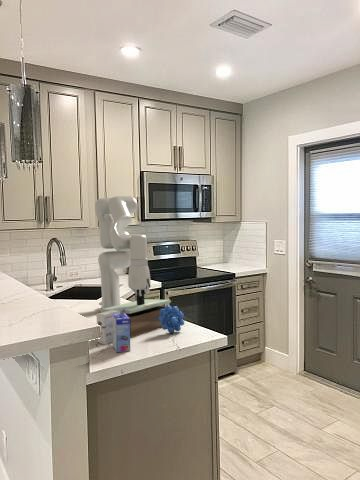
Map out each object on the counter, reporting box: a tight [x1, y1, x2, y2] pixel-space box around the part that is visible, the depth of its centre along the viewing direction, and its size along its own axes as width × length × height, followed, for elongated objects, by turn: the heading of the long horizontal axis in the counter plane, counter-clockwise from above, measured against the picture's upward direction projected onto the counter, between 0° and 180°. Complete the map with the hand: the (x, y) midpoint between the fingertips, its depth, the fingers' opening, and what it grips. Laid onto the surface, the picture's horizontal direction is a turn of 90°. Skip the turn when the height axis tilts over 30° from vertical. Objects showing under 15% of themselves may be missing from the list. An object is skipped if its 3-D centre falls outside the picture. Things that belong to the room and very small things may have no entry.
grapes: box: [158, 304, 185, 334], centre depth 164 cm, size 12×7×12 cm, turn 113°
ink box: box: [95, 310, 120, 345], centre depth 156 cm, size 9×5×12 cm, turn 141°
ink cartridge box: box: [112, 309, 131, 353], centre depth 147 cm, size 10×6×14 cm, turn 17°
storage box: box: [120, 305, 166, 339], centre depth 175 cm, size 18×24×8 cm
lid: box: [101, 298, 172, 314], centre depth 174 cm, size 19×25×2 cm
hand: (140, 304), depth 173 cm, fingers closed
